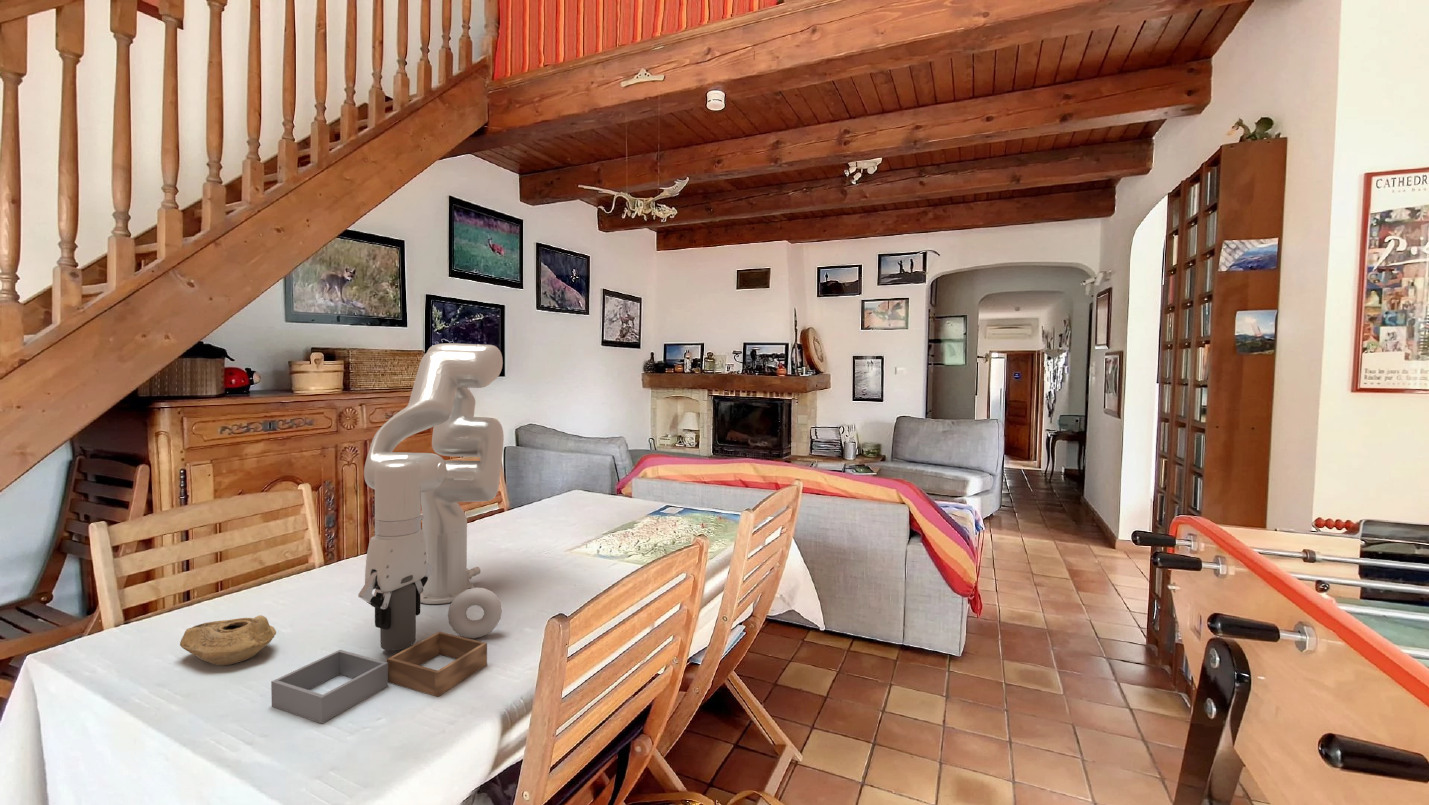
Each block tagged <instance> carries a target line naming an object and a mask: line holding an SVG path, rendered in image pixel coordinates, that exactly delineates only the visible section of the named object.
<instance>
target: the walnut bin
mask: <svg viewBox="0 0 1429 805" xmlns="http://www.w3.org/2000/svg"><path fill="white" fill-rule="evenodd" d="M439 655H440V656H444V657H448V658H452V659H454V660H453V661H451V662H450V663H448V664H446V665H445V666H443V667H441V668H440V669H434V668H430V667H427V666H424V664H425V663H427V662H429V661H430V660H432V659H433V658H435V657H437V656H439ZM386 662H387V663H388V684H393V685H397V686H399V687H403V688H406V689H410V690H413V691H417V692H420V693H424V694H427V695H431V696H433V697H439V696H441V695H442V693H443V694H444V693H446V692H447V691H448V690H451V689H452V688H454V687H455V686H457V685H458V684H459V683H462V681H465V679H467V678H469V677H470V676H471V675H473V674H475V673H476V672H478V671H480V670H481V669H483V668H484V667H486V666H487V665H488V642H484V641H481V640H475V639H473V638H465V637H463V636H460V635H455V634H451V633H447V632H443V631H437V632H436V633H434V634H432V635H430V636H429V637H426V638H424V639H422V640H420V641H419V642H417V643H415V644H412V645H411V646H409V647H406V648H404V649H402V650H401V651H399V652H398V653H395V654H394V655H392V656H390V657H388V658H387V659H386ZM456 684H457V685H456Z"/></svg>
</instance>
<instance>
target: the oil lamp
mask: <svg viewBox="0 0 1429 805" xmlns="http://www.w3.org/2000/svg"><path fill="white" fill-rule="evenodd" d="M268 620H269V619H268V618H267V617H266V616H264V615H262V614H261V615H256V616H255V617H239V618H234V619H233V618H232V619H224V620H215V621H208V622H204V623H200V624H197V625H194V626H192V627H189V628H186V630H185V631H184V633H183V636H182V637H181V639H180V641H179V646H180V648H182V649H183V650H185V651H187V652H189V653H190V654H192V655H194V656H196V657H197V658H198V659H200V660H202V661H205V662H206V663H207V662H208V663H210V664H211V665H216V666H222V667H223V666H229V665H230V666H231V665H233V664H237V663H241V662H244V661H247V660H249V659H251V658H253V657H255V656H256V655H257V654H258V652H260V651H261V650H262V649H263V648H265V647H266V646H267V645H269V644H270V643H271V642H272V640H273V639H274V638H275V636H276V635H277V631H276V629H275V627H274V626H272V625H271V624H270V623H269V621H268Z"/></svg>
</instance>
